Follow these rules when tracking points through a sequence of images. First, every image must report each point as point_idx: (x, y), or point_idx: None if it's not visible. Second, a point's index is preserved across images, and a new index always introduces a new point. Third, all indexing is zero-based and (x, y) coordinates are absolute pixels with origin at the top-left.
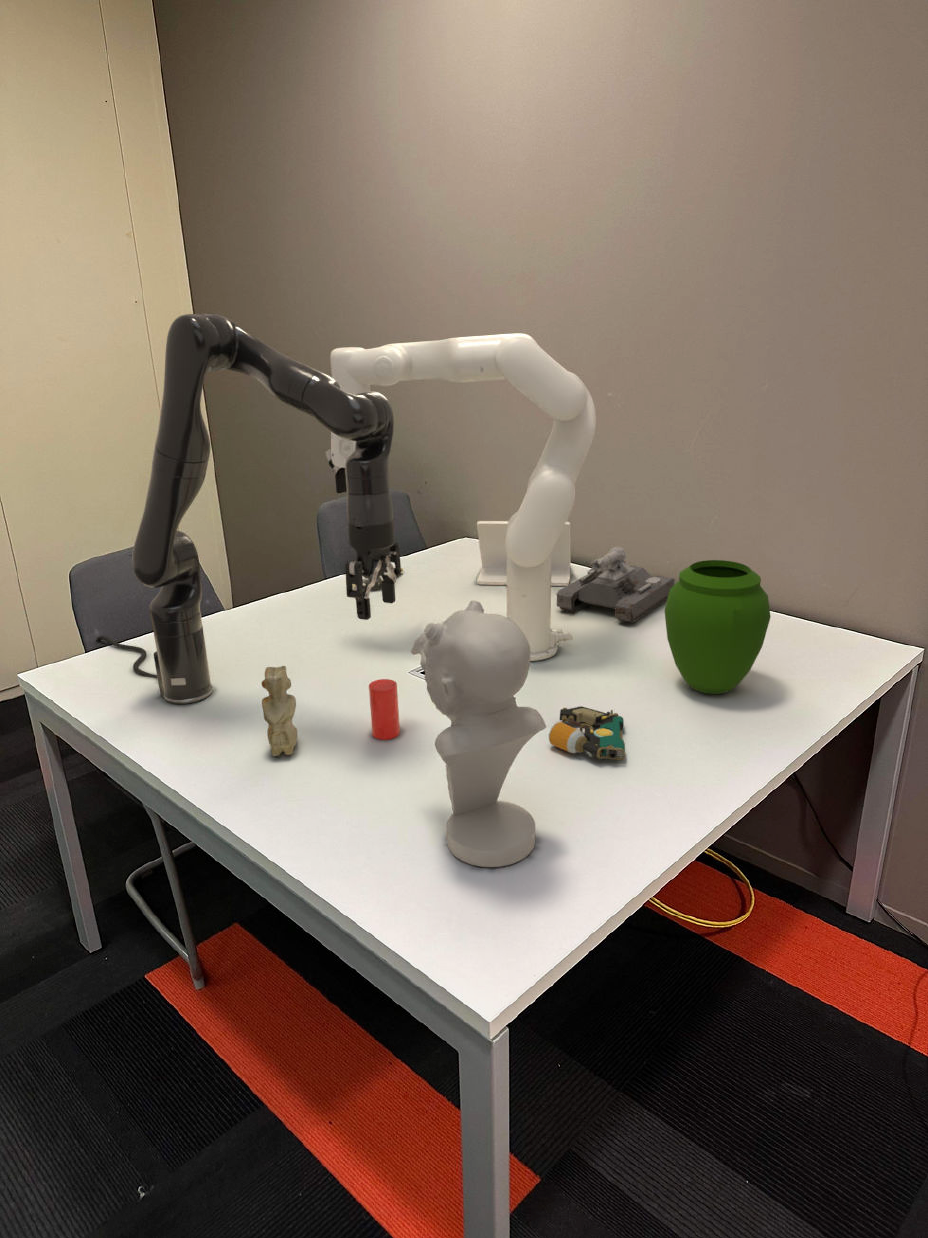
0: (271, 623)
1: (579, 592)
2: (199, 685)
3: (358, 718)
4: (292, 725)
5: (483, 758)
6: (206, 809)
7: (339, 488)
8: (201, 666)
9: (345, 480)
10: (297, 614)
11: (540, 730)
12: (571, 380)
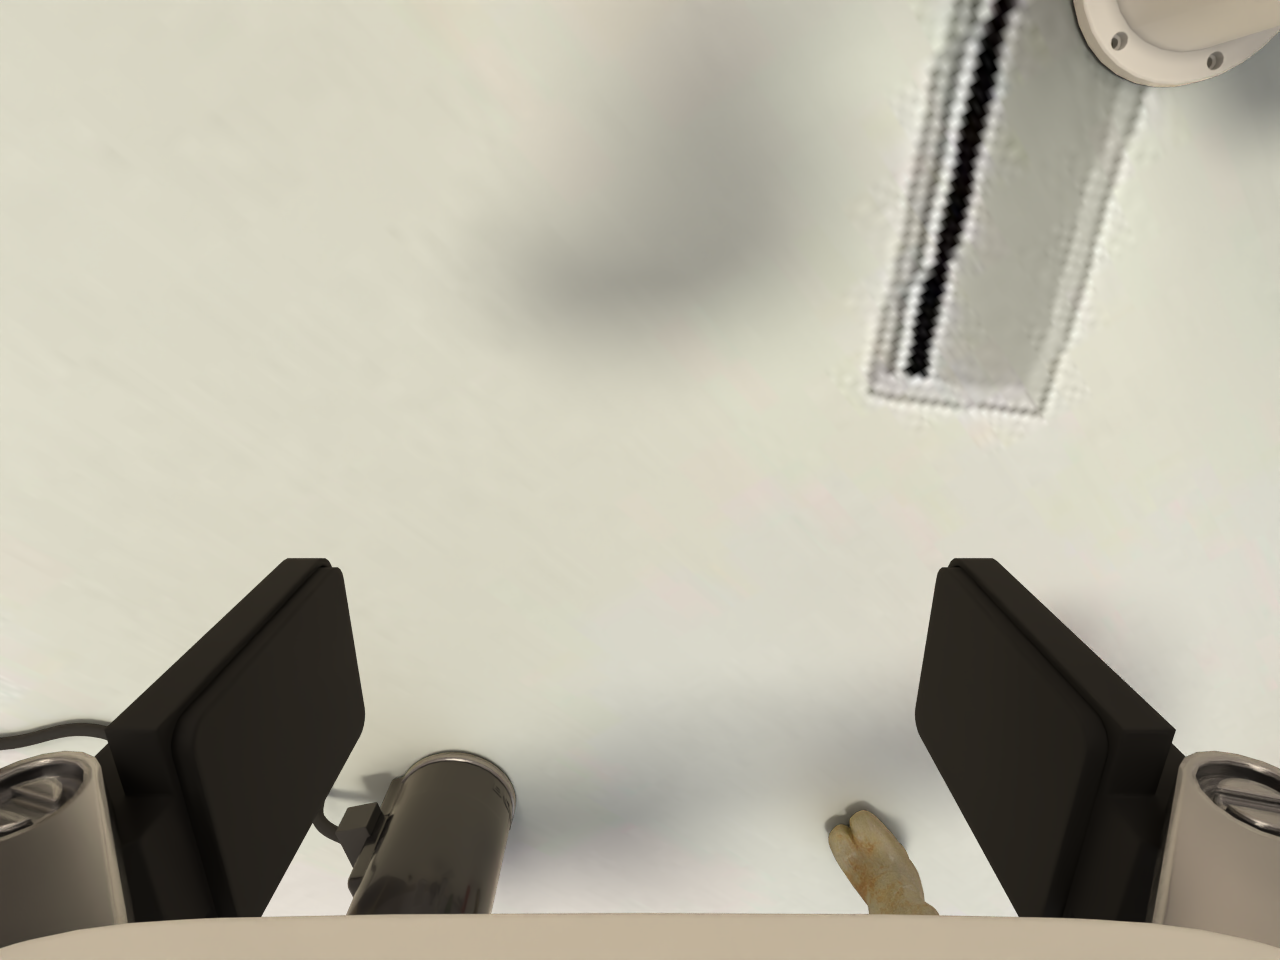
0: (131, 346)
1: None
2: (507, 830)
3: (918, 668)
4: (915, 882)
5: None
6: None
7: (344, 760)
8: (496, 859)
9: (273, 709)
10: (107, 213)
11: None
12: None
